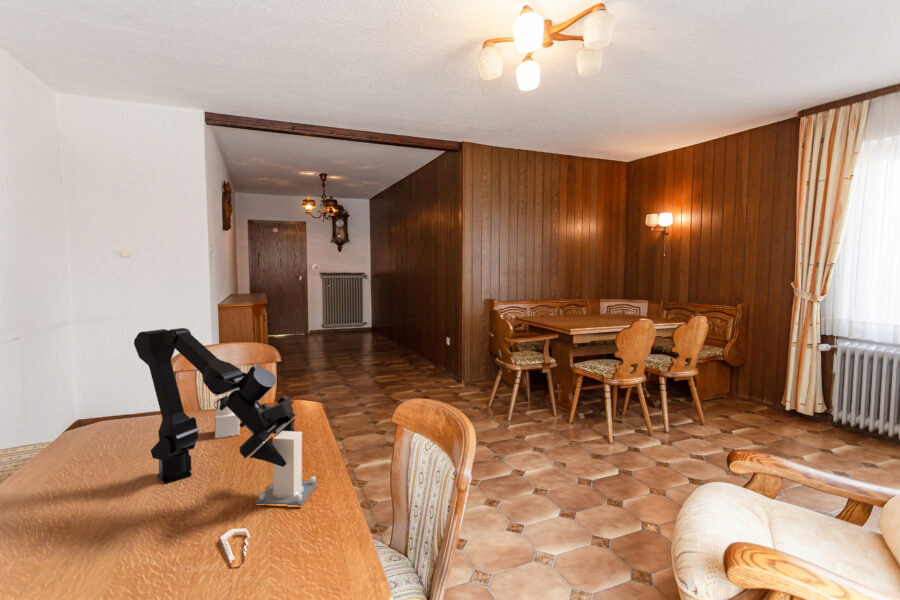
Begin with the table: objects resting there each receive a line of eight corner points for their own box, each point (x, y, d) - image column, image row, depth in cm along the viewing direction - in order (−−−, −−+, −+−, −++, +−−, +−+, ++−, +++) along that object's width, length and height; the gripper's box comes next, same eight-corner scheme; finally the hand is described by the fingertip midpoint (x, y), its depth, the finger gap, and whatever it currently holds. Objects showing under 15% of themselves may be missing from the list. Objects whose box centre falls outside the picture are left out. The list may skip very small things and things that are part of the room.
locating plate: (301, 508, 104) (301, 497, 104) (255, 505, 105) (255, 494, 104) (318, 485, 115) (318, 475, 115) (276, 482, 116) (276, 473, 115)
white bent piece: (260, 565, 86) (260, 556, 85) (232, 575, 83) (232, 567, 82) (243, 529, 96) (243, 521, 96) (218, 537, 93) (218, 529, 92)
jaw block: (293, 495, 107) (293, 439, 106) (273, 494, 107) (273, 438, 106) (301, 485, 112) (301, 431, 111) (282, 484, 112) (282, 430, 111)
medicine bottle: (216, 431, 150) (215, 396, 149) (239, 428, 153) (239, 394, 152) (214, 438, 143) (214, 402, 142) (239, 435, 146) (239, 400, 145)
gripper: (252, 400, 99) (300, 451, 99) (288, 379, 117) (328, 422, 117) (218, 433, 100) (266, 483, 100) (259, 407, 118) (299, 449, 119)
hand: (293, 457), depth 109 cm, fingers open, 9 cm apart
